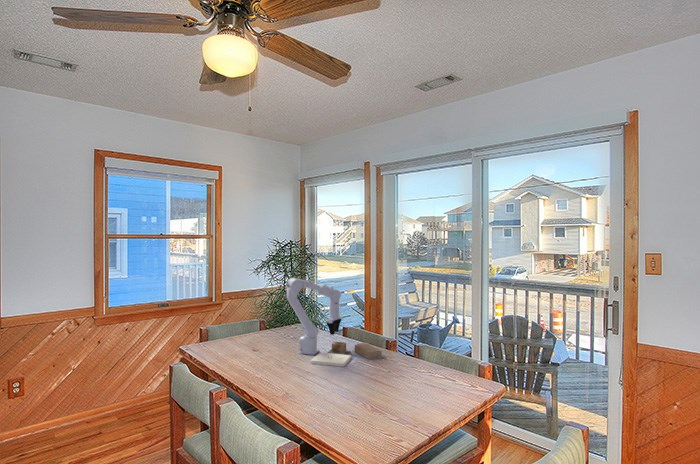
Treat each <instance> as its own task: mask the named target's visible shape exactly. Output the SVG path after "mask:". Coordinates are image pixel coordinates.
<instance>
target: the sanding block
mask: <svg viewBox="0 0 700 464" xmlns="http://www.w3.org/2000/svg"><path fill="white" fill-rule="evenodd" d="M331 349H332V353H337V354H344V353H345V352H346V351H347V342H342V341H333V342H332V343H331Z"/></svg>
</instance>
